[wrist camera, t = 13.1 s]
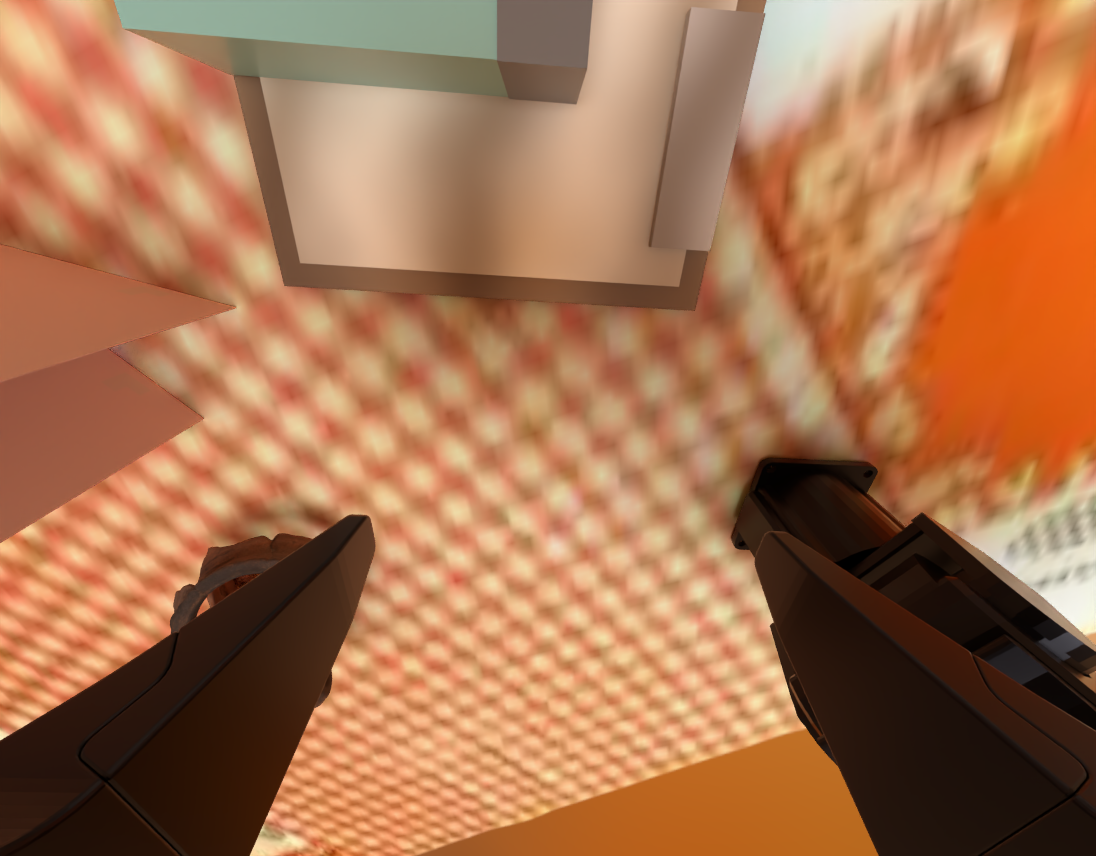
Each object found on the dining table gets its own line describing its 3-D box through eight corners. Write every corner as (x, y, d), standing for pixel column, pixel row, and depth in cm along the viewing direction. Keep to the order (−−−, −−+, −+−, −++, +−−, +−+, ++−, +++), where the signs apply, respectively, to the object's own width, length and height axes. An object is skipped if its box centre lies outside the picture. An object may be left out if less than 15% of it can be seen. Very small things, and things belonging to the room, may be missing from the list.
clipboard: (776, -76, 13) (799, -104, 12) (690, 307, 18) (700, 314, 17) (196, -132, 12) (159, -167, 11) (292, 283, 18) (274, 288, 17)
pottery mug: (186, 543, 26) (97, 607, 18) (336, 479, 29) (313, 511, 21) (277, 688, 28) (233, 797, 21) (407, 616, 31) (410, 689, 24)
